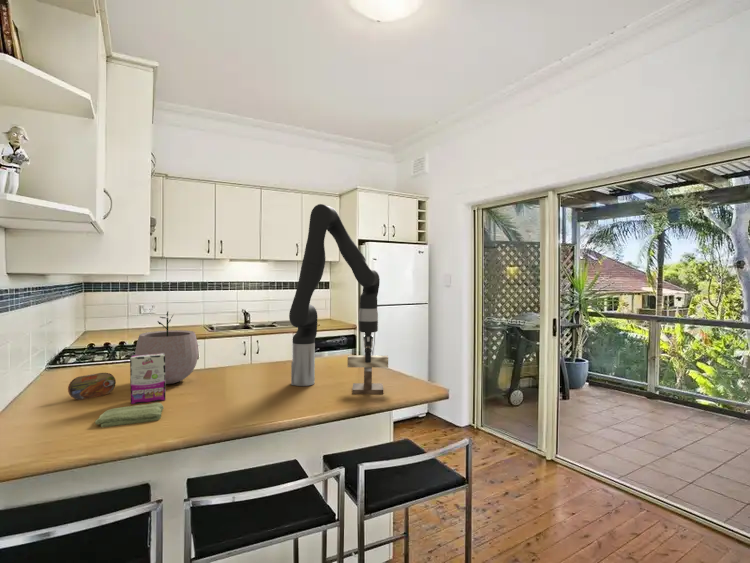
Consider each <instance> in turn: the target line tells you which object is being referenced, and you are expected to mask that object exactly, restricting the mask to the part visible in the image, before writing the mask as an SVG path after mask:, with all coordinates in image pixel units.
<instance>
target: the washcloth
mask: <svg viewBox="0 0 750 563" xmlns="http://www.w3.org/2000/svg"><path fill="white" fill-rule="evenodd" d="M163 410H164V405H163V404H162V402H151V403H148V404H138V405H132V406H131V405H128V406H123V407H122V406H120V407H115V408H110V409H107V410H104V412H103V413H102V414H100V415H99V417H98V418H97V419H96V420H95V422H94V423H95V425H100V428H109V427H115V426H124V425H133V424H139V423H140V424H141V423H149V422H154V421H155V422H156V421H159V420H160V419H161V417H162V412H163Z"/></svg>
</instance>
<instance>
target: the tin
mask: <svg viewBox="0 0 750 563" xmlns="http://www.w3.org/2000/svg"><path fill="white" fill-rule="evenodd" d="M116 383H117V382H116V378H115V376H114V375H113V374H112V373H109V372H99V373H93V374H87V375H81V376H77V377H74V378H73V379H72V380H71V381H70V383H69V384H68V385H67V387H68V388H67V392H68V394H69V395H70V397H72V399H76V400H78V401H83V400H87V399H88V400H89V399H92V398H97V397H101V396H106V395H108V394H110V393H111V392H112V391H114V389H115V387H116Z"/></svg>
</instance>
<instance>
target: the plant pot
mask: <svg viewBox="0 0 750 563" xmlns="http://www.w3.org/2000/svg"><path fill="white" fill-rule="evenodd" d="M174 314H175V313H173V315H171V317H170V319H169V311H167V312H166V317H163V316H159V318H161V319H166V326H165V325H164V324H163V323H162V322H161V321H159V320H157V323H158V324H159V325H162V328H163V329H164V328H165V330H156V331H155V330H154V331H148V332H147V331H146V332H143V333H140V334H139V335H138V338H137V342H136V345H135V346H136V347H135V351H134V352H135V353H134V356H137V355H150V354H163V353H165V385H170V384H175V383H179V382H181V381H183V380H185V379H186V378H187V377H189V376H190V375H191V374H192V373H193V372H194V370H195V368H196V366H197V362H198V358H199V344H198V340H197V336H196V332H195V331H193V330H183V329H182V330H181V329H177V330H176V329H174V330H173V329H172V330H169V323H171V321H172V318H173V317H174Z"/></svg>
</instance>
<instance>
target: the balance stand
mask: <svg viewBox="0 0 750 563" xmlns="http://www.w3.org/2000/svg"><path fill="white" fill-rule="evenodd" d="M351 390H352V391H351V392H352V394H365V395H367V394H368V395H371V394H372V395H373V394H377V395H380V394H381V395H382V394H384V384H383V383H381V382H377V383H375V382H373V367H363V383H361V382H358V383H356V382H354V383H352V388H351Z"/></svg>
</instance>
